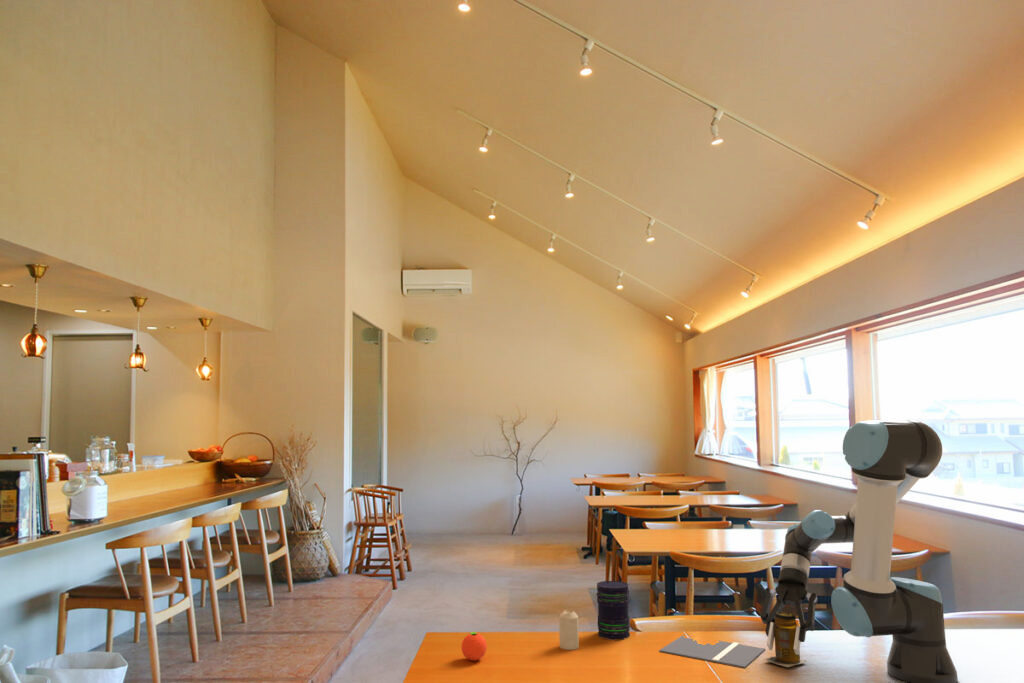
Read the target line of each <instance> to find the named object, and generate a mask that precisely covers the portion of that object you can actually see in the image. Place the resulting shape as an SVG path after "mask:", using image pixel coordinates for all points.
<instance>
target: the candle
mask: <svg viewBox="0 0 1024 683" xmlns="http://www.w3.org/2000/svg"><path fill="white" fill-rule="evenodd" d="M558 620H559V621H558V623H559V624H558V627H559V629H558V630H559V648H560V649H562V650H566V651H574V650H577V649H579V648H580V647H579V644H580V643H579V641H580V640H579V616H578V614H577V613H576V612H575V611H574V610H568V609H564V611H563V612H562V613H561V614H560V615H559V617H558Z"/></svg>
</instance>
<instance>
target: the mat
mask: <svg viewBox="0 0 1024 683" xmlns="http://www.w3.org/2000/svg"><path fill="white" fill-rule="evenodd" d="M684 637H685V636H683V635H681V636H680V637H678V638H676V639H674V640H673V641H671V642H669V643H668V644H666V645H665V646H663V647H661V648H660V649H659V651H658V652H661V653H665V654H669V655H670V654H671V655H675V656H681V657H686V658H691V659H694V660H695V659H696V660H700V661H705V662H706V661H707V662H712V663H717V664H722V665H727V666H732V667H737V668H742V669H746V668H747V667H748V666H750V665H751V664H752V663H753V662H754V661H755V660H756V659H758V657H760V656H761V655H762V654H763V653H764V652H765V651H766V648H763V647H759V646H758V647H757V646H751V645H746V644H740V642H735V641H734V642H728V641H723V640H718V641H719V643H716V644H715V645H711V644H709V643H708V644H706V645H702V644H698V643H697V641H696V640H695V641H693V639H689V638H684ZM690 638H691V637H690Z"/></svg>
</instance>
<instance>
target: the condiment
mask: <svg viewBox="0 0 1024 683" xmlns="http://www.w3.org/2000/svg"><path fill="white" fill-rule="evenodd" d="M796 615H797V614H795V613H793V612H790V611H789V612H788V611H781V612H776V613H775V623H774V636H775V637H774V647H775V648H774V649H775V650H774V651H775V655H774V656H771V657H767V658H764V659H763V660H765V661H767V662H770V663H772V664H776V665H778V666H782V667H786V668H790V667H794V666H796V665H801V664H804V663H806V662H808V660H805V659H803V658H801V653H800V651H801V650H799V655H796V654H795V651H794V649H793V648H794V641H795V634H796V627H797V626H798V624H797V617H796Z"/></svg>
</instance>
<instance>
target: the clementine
mask: <svg viewBox="0 0 1024 683" xmlns="http://www.w3.org/2000/svg"><path fill="white" fill-rule="evenodd" d="M487 646H488V644H487V641H486V639H485V637H484V636H483V635H481V634H480V633H477V632H474V631H473V632H469V634H467V635H466V636H464V638H463V640H462V642H461V653H462V654H463V656H464V657H465V658H466V659H467V660H469V661H474V662H475V661H479V660H480V659H482V658H483V657H484V656H485V655H486V653H487Z"/></svg>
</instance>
